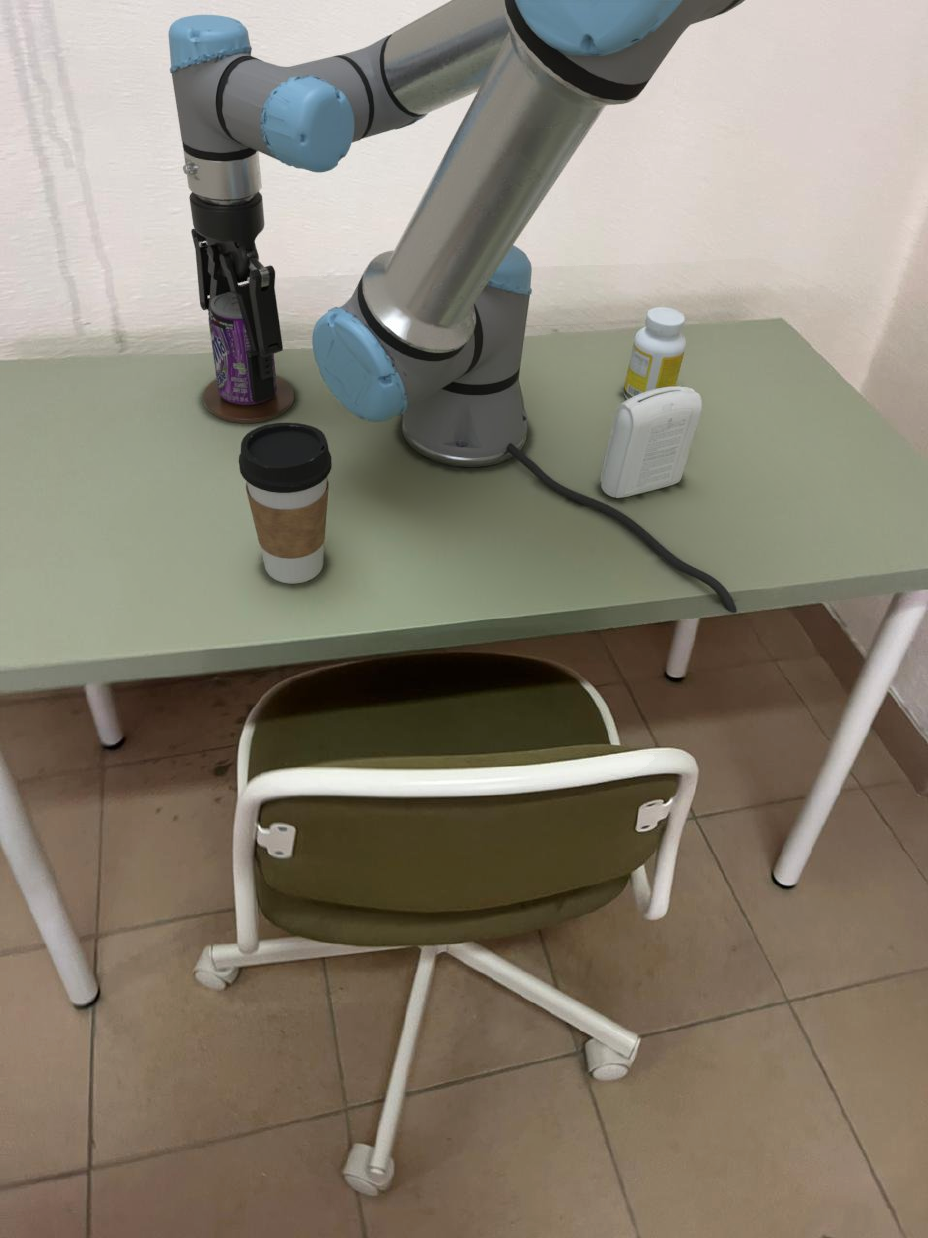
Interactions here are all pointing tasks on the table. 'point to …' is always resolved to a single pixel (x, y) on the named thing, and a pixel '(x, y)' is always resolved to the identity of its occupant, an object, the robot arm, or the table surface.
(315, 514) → the coffee cup
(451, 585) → the table surface
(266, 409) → the coaster
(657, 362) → the pill bottle
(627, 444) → the photo printer
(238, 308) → the beverage can
